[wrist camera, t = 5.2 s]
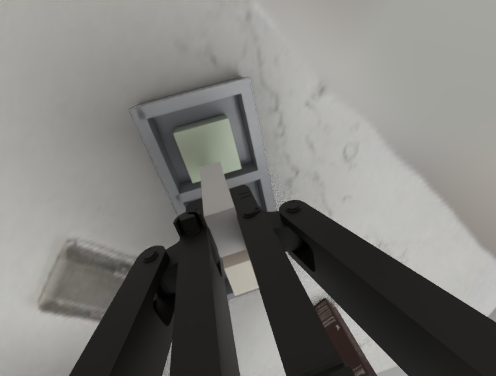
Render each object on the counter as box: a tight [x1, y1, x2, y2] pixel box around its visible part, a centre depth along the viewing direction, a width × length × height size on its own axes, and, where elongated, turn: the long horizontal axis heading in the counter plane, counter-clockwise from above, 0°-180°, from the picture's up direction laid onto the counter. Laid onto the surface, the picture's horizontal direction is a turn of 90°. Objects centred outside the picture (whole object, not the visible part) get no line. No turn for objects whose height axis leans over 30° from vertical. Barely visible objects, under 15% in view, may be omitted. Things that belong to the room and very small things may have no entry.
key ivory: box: [222, 249, 259, 296], centre depth 27 cm, size 5×5×2 cm
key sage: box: [173, 114, 242, 183], centre depth 21 cm, size 5×5×2 cm
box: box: [314, 299, 377, 376], centre depth 36 cm, size 6×4×12 cm
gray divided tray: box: [129, 77, 276, 300], centre depth 25 cm, size 10×25×4 cm, turn 13°
